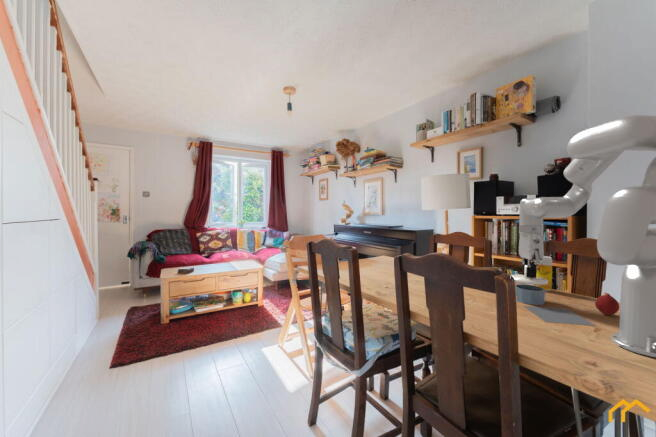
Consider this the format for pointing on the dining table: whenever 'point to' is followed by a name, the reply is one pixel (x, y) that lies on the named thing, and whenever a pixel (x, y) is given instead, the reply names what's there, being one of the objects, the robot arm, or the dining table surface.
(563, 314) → the mat
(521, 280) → the lid
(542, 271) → the yellow bottle
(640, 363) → the dining table surface
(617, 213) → the robot arm
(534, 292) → the bowl
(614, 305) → the red rounded piece
